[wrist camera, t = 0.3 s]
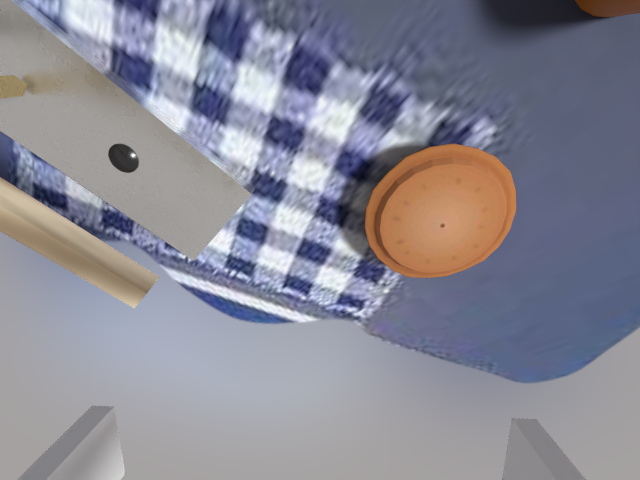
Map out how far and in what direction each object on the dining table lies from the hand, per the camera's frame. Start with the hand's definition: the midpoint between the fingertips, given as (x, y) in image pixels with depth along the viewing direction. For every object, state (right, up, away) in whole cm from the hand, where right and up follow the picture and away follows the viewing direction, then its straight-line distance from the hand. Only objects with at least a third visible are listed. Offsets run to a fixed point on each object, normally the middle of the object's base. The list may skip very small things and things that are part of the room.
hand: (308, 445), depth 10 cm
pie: (+13, +11, +26) cm, 31 cm away
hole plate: (-24, +20, +22) cm, 38 cm away
